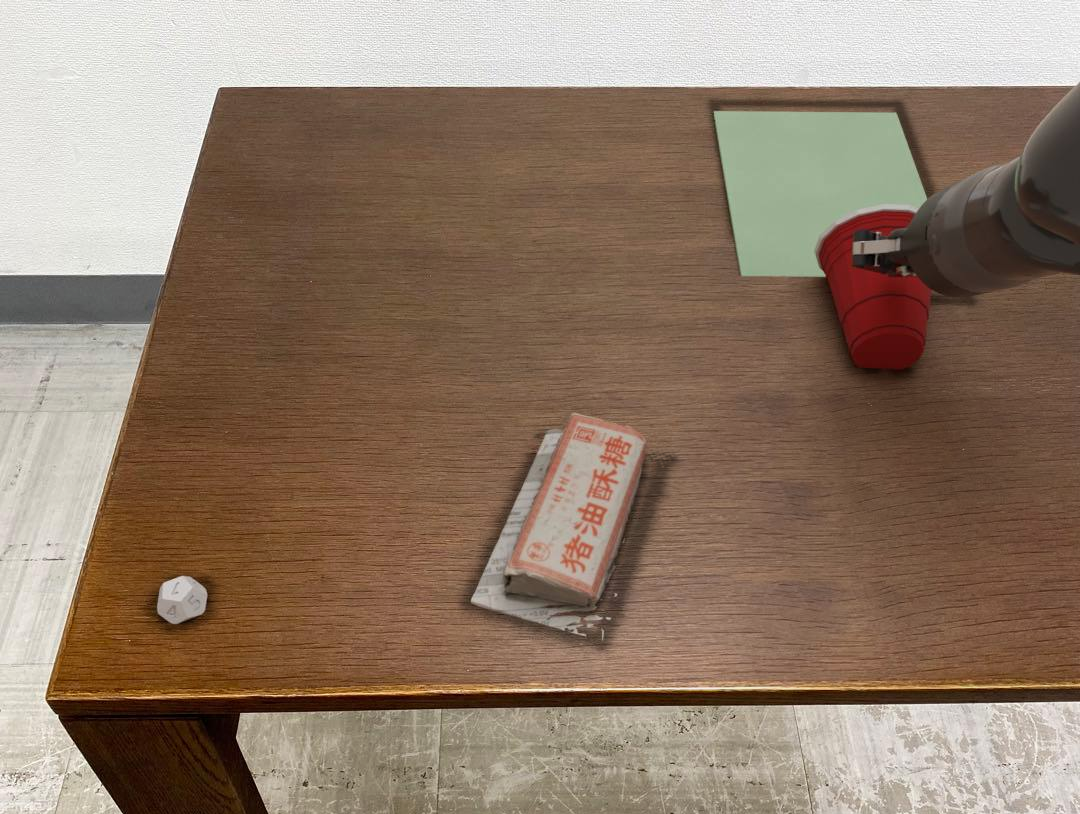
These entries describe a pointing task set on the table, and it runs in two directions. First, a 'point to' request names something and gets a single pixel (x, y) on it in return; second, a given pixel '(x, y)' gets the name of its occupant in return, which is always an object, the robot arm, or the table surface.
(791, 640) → the table surface
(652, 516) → the table surface
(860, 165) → the mat
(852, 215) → the plastic cup
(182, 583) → the game die
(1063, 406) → the table surface
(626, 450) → the packaged product
